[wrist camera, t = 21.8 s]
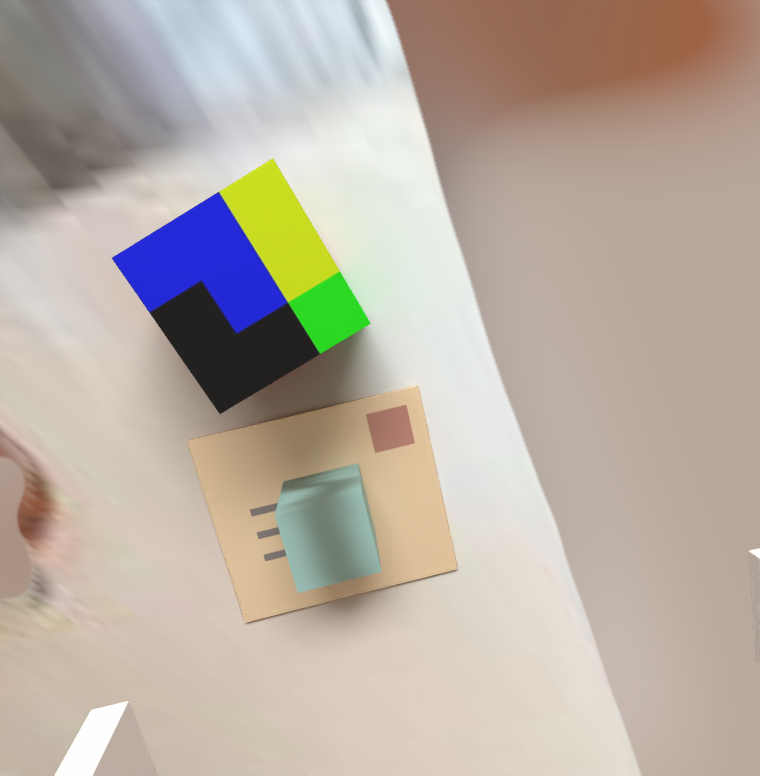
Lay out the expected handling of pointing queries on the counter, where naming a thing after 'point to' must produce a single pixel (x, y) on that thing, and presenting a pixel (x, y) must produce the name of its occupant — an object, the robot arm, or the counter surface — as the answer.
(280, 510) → the teal block
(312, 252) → the puzzle toy
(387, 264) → the counter surface
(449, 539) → the letter card
